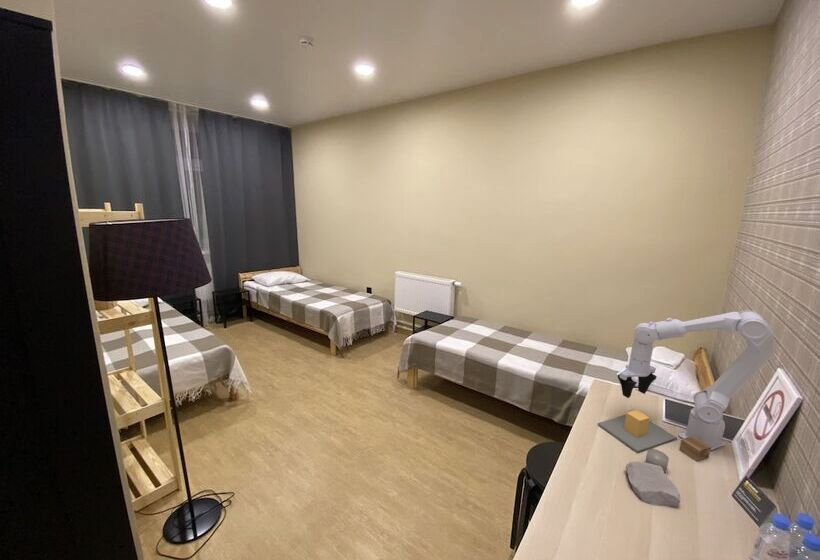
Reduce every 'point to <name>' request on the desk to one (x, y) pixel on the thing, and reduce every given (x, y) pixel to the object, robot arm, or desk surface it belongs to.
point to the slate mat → (637, 444)
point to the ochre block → (636, 423)
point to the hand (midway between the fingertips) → (633, 394)
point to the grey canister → (657, 458)
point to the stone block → (652, 484)
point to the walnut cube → (695, 448)
